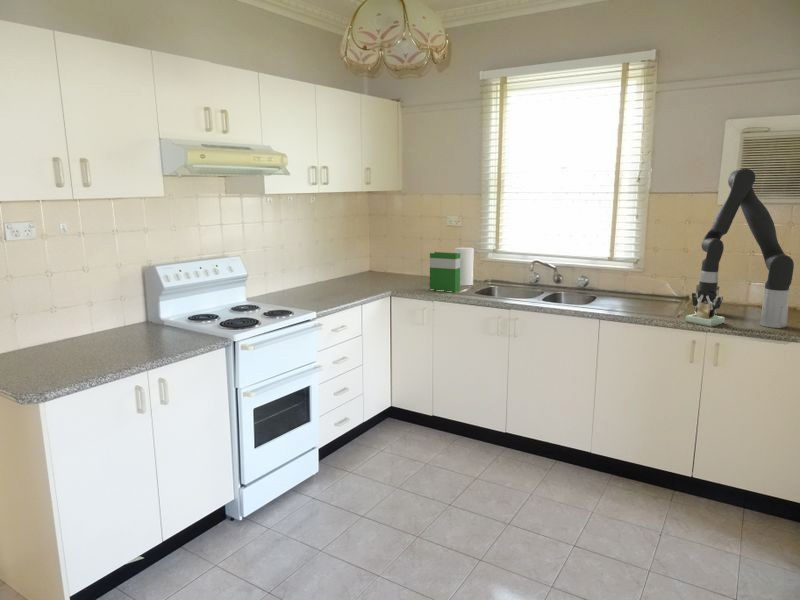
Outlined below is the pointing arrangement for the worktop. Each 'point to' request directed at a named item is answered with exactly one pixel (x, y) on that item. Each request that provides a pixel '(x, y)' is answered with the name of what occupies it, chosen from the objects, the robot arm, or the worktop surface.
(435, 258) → the green cereal box
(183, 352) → the worktop surface
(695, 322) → the tray
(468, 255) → the cylinder
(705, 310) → the maple block
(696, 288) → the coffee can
